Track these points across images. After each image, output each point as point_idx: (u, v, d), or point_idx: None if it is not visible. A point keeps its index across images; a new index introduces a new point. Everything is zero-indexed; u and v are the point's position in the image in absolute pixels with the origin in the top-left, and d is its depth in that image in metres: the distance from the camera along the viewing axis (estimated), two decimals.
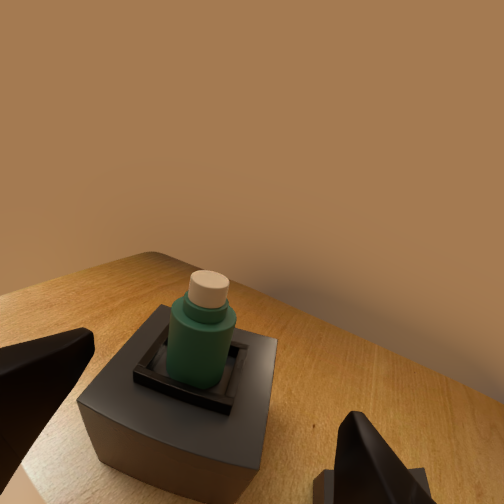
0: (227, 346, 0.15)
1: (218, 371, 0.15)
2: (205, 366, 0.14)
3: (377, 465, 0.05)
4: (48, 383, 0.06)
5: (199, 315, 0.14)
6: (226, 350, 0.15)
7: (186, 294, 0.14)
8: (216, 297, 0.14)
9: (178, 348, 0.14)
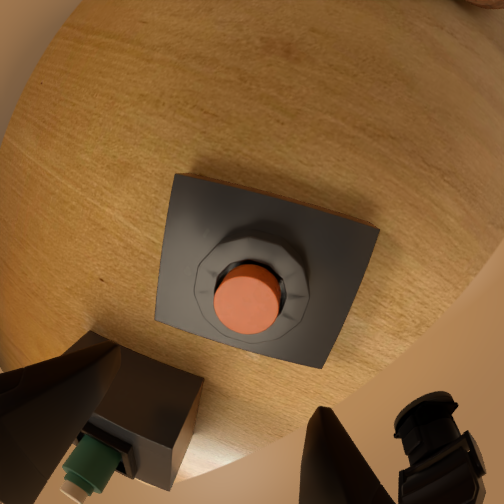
0: (89, 463, 0.13)
1: (103, 451, 0.15)
2: (109, 465, 0.14)
3: (338, 464, 0.05)
4: (76, 401, 0.06)
5: (91, 491, 0.12)
6: (91, 461, 0.13)
7: None
8: (79, 495, 0.10)
9: (109, 479, 0.14)
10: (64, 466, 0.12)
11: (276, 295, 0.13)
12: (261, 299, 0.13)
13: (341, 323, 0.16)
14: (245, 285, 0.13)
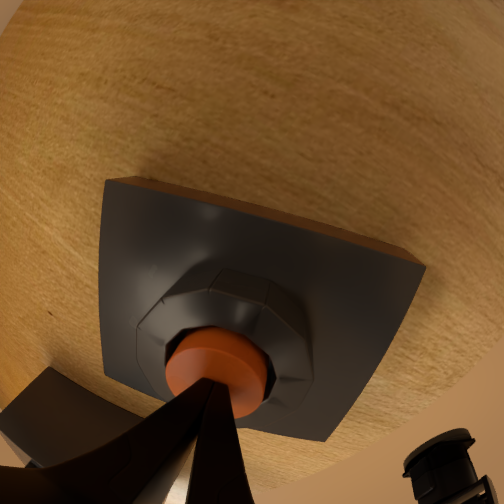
0: None
1: None
2: None
3: (203, 439, 0.05)
4: (183, 452, 0.05)
5: None
6: None
7: None
8: None
9: None
10: None
11: (259, 376, 0.08)
12: (236, 381, 0.08)
13: (356, 395, 0.10)
14: (210, 361, 0.08)
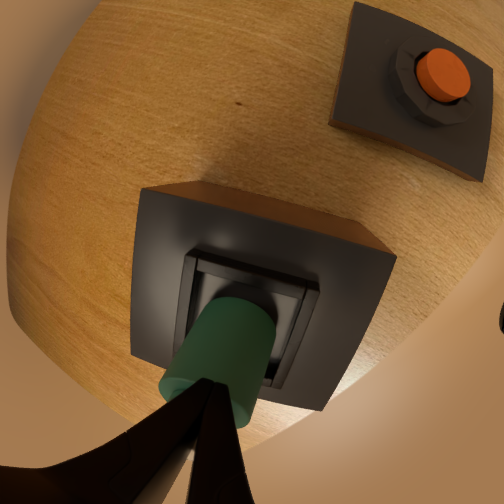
0: (232, 358, 0.09)
1: (254, 330, 0.11)
2: (264, 359, 0.10)
3: (203, 439, 0.05)
4: (183, 452, 0.05)
5: None
6: (235, 353, 0.09)
7: None
8: None
9: None
10: (169, 379, 0.08)
11: (465, 69, 0.10)
12: (458, 68, 0.10)
13: (489, 134, 0.13)
14: (447, 55, 0.10)
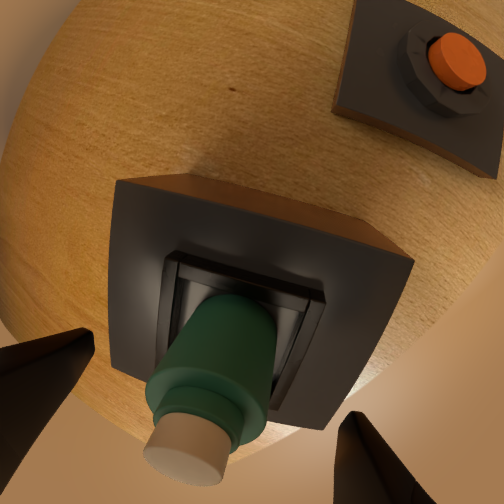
0: (244, 349, 0.08)
1: (262, 326, 0.09)
2: (273, 359, 0.09)
3: (377, 465, 0.05)
4: (48, 383, 0.06)
5: None
6: (247, 344, 0.08)
7: None
8: (222, 453, 0.05)
9: None
10: (166, 370, 0.07)
11: (480, 56, 0.08)
12: (474, 54, 0.08)
13: (502, 128, 0.11)
14: (461, 41, 0.08)
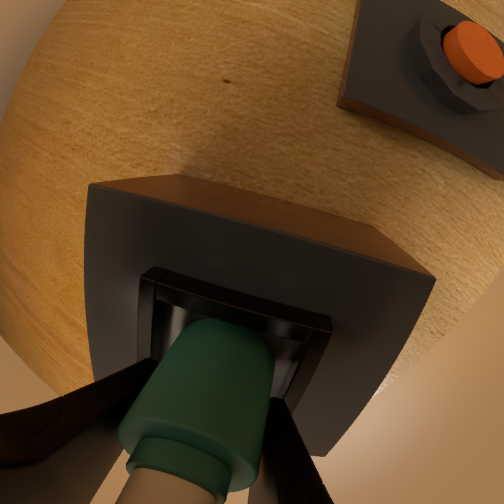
0: (232, 393, 0.06)
1: (255, 358, 0.08)
2: (268, 398, 0.07)
3: (278, 457, 0.05)
4: None
5: None
6: (236, 386, 0.06)
7: None
8: None
9: None
10: (136, 419, 0.05)
11: (498, 48, 0.06)
12: (492, 45, 0.06)
13: None
14: (478, 30, 0.06)
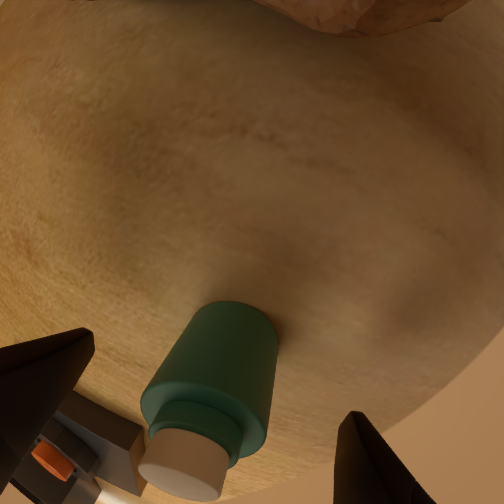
0: (243, 361, 0.07)
1: (262, 335, 0.09)
2: (274, 370, 0.08)
3: (377, 465, 0.05)
4: (48, 383, 0.06)
5: None
6: (247, 356, 0.07)
7: None
8: (219, 470, 0.05)
9: None
10: (161, 384, 0.06)
11: (58, 470, 0.10)
12: (52, 469, 0.10)
13: (134, 483, 0.14)
14: (41, 460, 0.10)
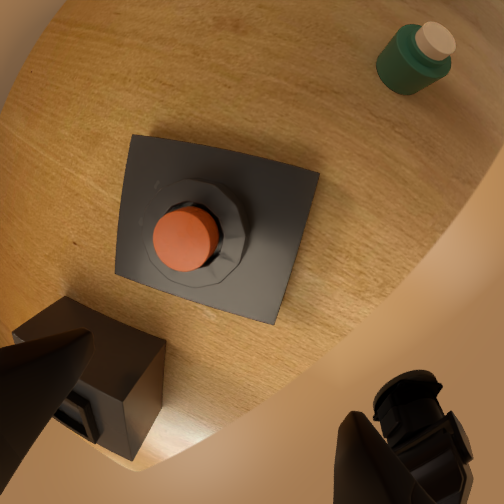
0: None
1: None
2: None
3: (377, 465, 0.05)
4: (48, 383, 0.06)
5: None
6: None
7: (433, 61, 0.09)
8: None
9: (436, 80, 0.11)
10: (408, 25, 0.09)
11: (207, 229, 0.14)
12: (193, 233, 0.14)
13: (288, 272, 0.17)
14: (179, 220, 0.14)
